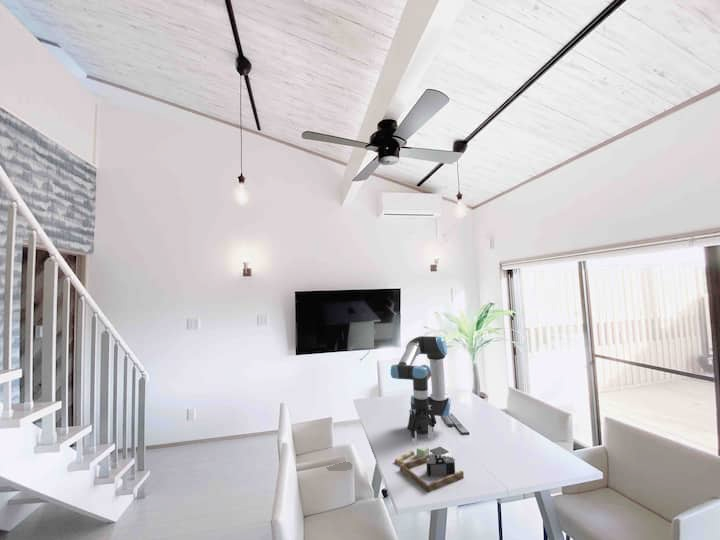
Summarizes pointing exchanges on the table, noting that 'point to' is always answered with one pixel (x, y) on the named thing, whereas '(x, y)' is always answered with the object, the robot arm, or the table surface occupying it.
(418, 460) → the brown wooden u frame
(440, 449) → the pad
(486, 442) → the table surface
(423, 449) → the sage cube
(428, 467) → the camera
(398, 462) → the crook
